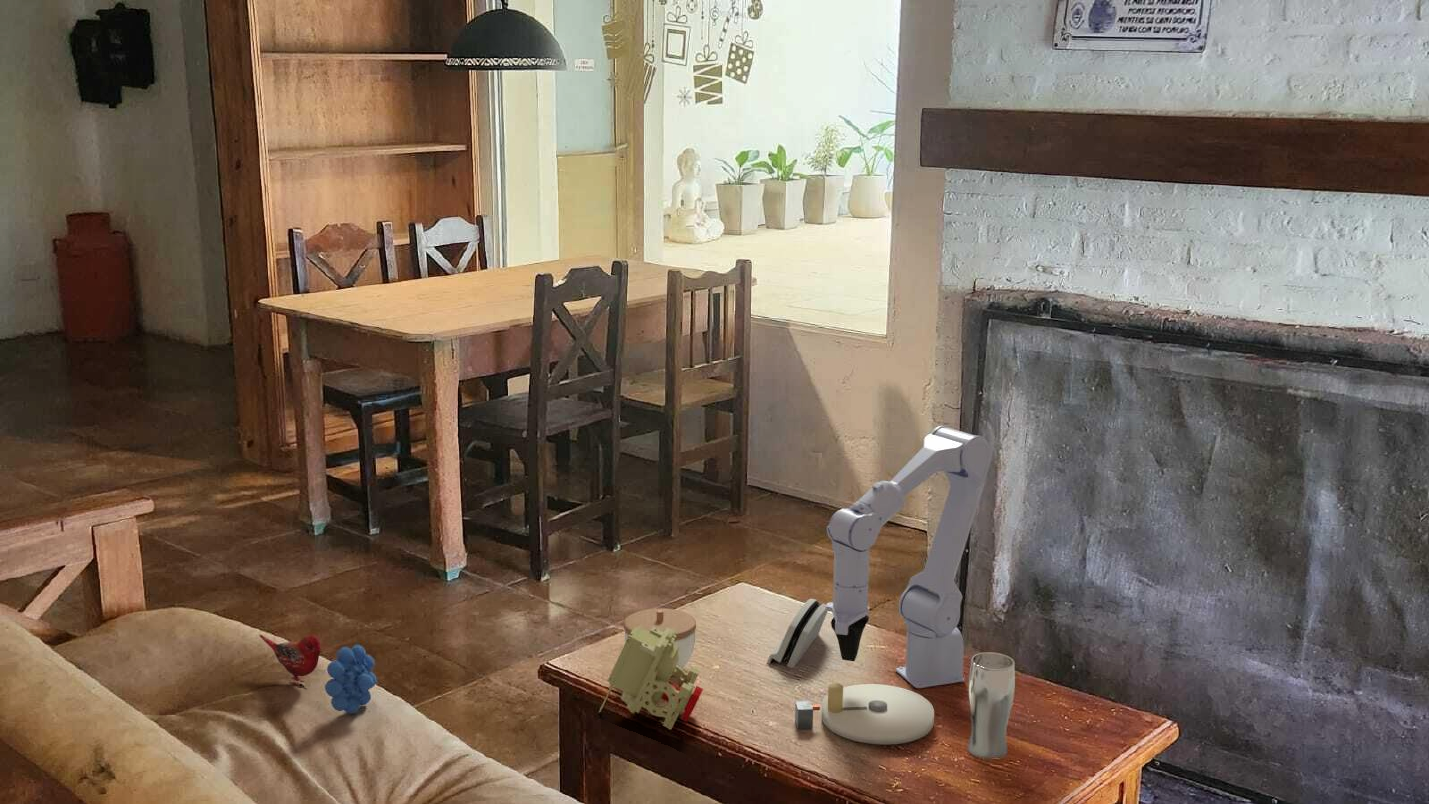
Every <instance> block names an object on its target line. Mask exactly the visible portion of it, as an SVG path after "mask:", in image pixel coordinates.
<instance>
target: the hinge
mask: <svg viewBox="0 0 1429 804" xmlns="http://www.w3.org/2000/svg"><path fill="white" fill-rule="evenodd" d="M826 605H827V604H825V603H820V602H819V601H818V599H815V598H809V599H807V600H806V602H805V603H804V604H803V606H801V607H800V608H799V609H798V612H797V613H796V615H795V616H794V618H793V619H792V621H791V623H790V624H789V625H788V628H787V630H786V632H785V634H784V637H783V639H781V641H780V642H779V644H778V645H777V646H776V647H775V649H774V650H773V651H772V652H771V653H770V655H769V657H768V659H767V661H766V664H768V665H770V664H771V663H772V661H773V660H775V661H776V662H778V663H781V662H782V663H784V662H785V664H786V667H787V668H790V669H793V668H795V666H796V665H797V664H798V662H799V661H800V659H802V657H803V656H804V654H805V653H806V652H807V650H808V649H809V647H810V646H811V645H812V644H813V642H814V641H815V640H816V638H817V637H818V636H819V634H820V631H821V629H822V626H823V623H824V621H825V619H826V616H827V614H828V612H829V611H828V610H826Z"/></svg>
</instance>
